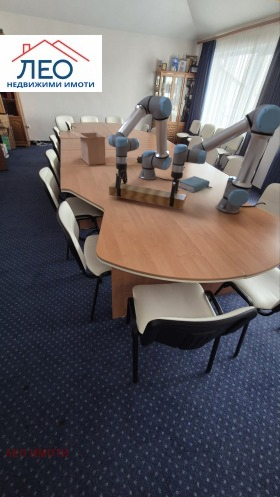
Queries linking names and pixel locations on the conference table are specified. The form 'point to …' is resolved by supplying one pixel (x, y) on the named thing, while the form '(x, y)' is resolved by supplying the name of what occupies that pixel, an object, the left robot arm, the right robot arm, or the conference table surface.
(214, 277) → the conference table surface
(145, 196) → the wide beam
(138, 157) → the laser sight
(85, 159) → the box
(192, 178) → the book
